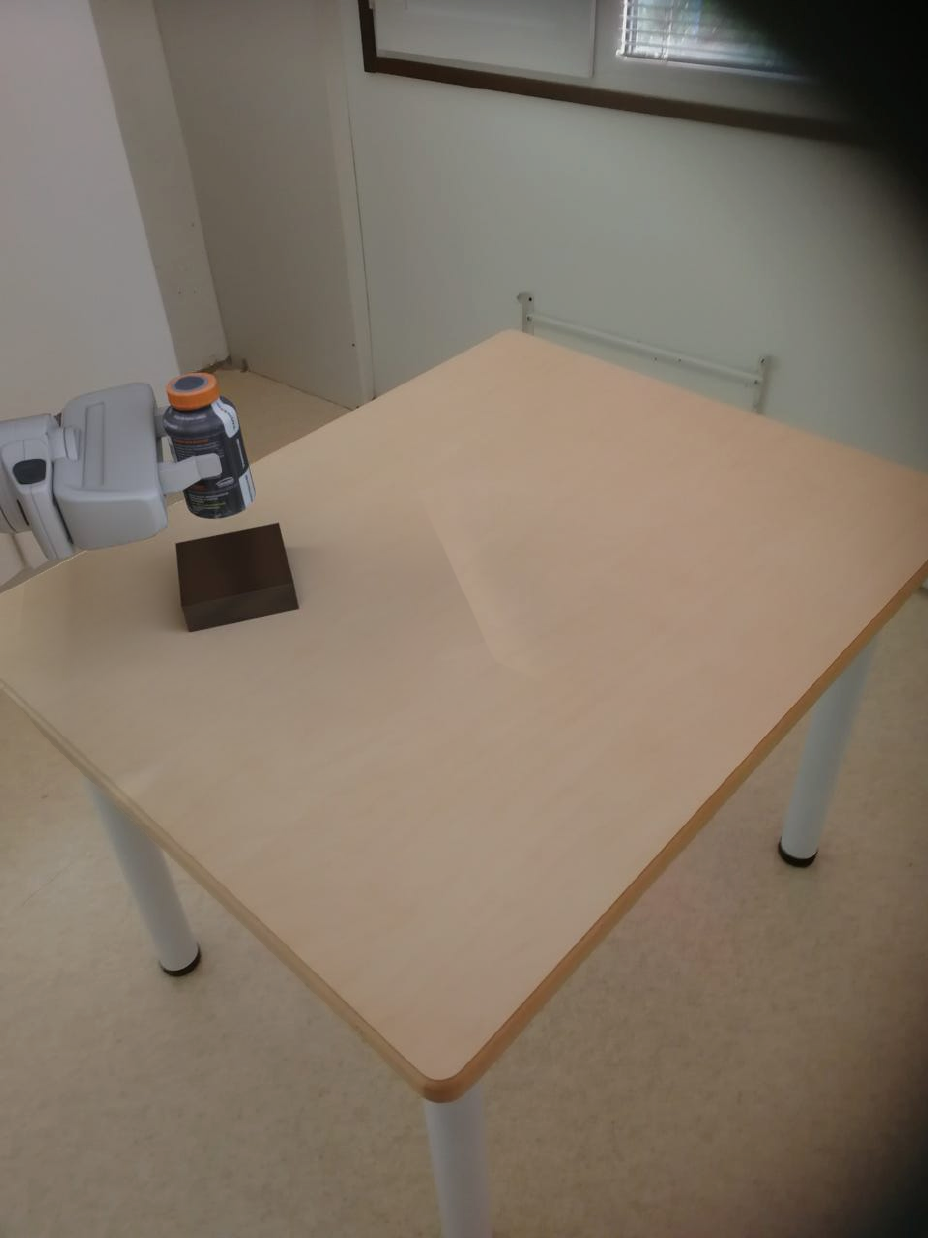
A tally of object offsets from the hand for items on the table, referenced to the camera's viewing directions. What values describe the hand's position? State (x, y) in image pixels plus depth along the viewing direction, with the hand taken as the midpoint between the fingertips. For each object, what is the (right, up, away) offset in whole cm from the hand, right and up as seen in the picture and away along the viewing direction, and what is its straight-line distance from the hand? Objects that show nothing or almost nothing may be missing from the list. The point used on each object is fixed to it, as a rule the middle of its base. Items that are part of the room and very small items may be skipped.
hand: (216, 439), depth 79 cm
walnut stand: (-1, -12, +12) cm, 17 cm away
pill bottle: (0, -5, +4) cm, 6 cm away
